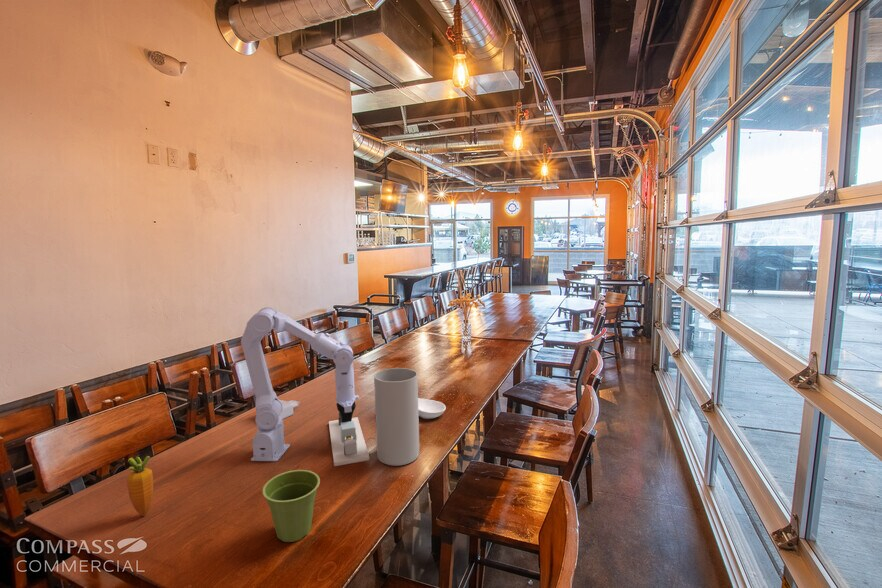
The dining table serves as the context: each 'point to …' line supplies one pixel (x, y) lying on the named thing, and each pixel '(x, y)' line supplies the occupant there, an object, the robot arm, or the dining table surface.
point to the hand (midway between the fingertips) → (347, 425)
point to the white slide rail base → (347, 444)
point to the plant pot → (292, 502)
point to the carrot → (140, 485)
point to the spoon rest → (430, 408)
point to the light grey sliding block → (347, 430)
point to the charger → (287, 408)
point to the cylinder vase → (397, 416)
